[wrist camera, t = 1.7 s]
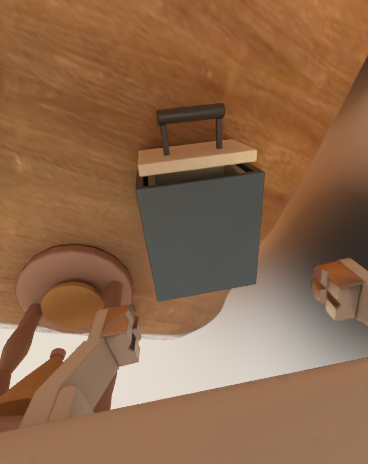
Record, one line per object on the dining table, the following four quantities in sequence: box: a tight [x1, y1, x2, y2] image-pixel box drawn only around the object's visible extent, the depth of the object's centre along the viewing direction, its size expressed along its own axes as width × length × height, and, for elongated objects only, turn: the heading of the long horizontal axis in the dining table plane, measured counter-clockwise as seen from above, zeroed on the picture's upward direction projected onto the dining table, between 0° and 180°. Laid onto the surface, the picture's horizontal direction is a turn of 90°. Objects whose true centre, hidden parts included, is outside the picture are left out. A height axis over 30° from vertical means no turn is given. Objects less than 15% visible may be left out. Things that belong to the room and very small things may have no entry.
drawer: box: [138, 103, 257, 186], centre depth 30 cm, size 19×12×8 cm, turn 5°
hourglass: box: [0, 245, 132, 432], centre depth 30 cm, size 18×18×25 cm
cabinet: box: [136, 162, 265, 302], centre depth 33 cm, size 16×14×10 cm
